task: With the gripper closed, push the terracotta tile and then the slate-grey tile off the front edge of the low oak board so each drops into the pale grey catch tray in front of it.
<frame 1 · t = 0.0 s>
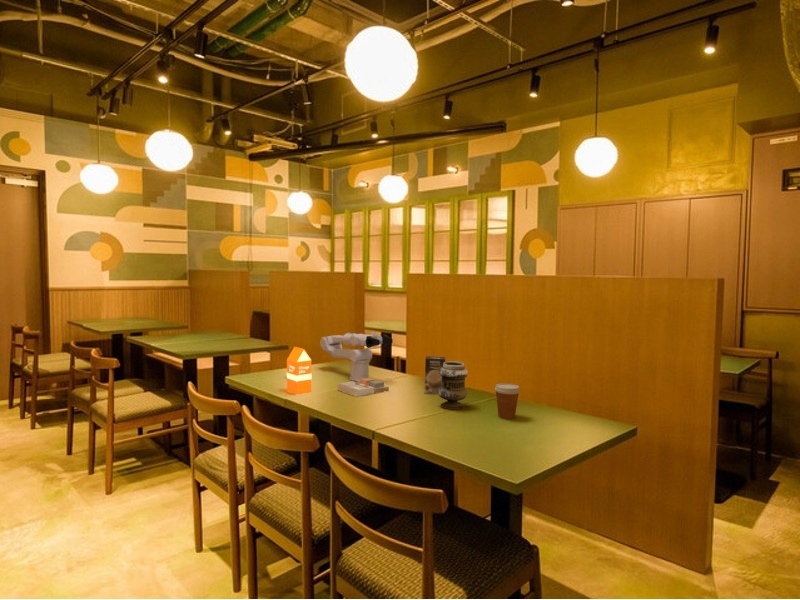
hand: (385, 341, 241), 22 cm above the table, tool horizontal, fingers open, 7 cm apart
tile terracotta: (367, 383, 241), point 2 cm above the table, touching board
catch tray: (355, 392, 233), on the table
board: (371, 389, 239), on the table
disposable coffee cup: (506, 417, 198), on the table
coffee box: (434, 392, 234), on the table
orange juice: (299, 392, 232), on the table
apothecary jar: (452, 406, 212), on the table
tile slate: (376, 386, 236), point 2 cm above the table, touching board
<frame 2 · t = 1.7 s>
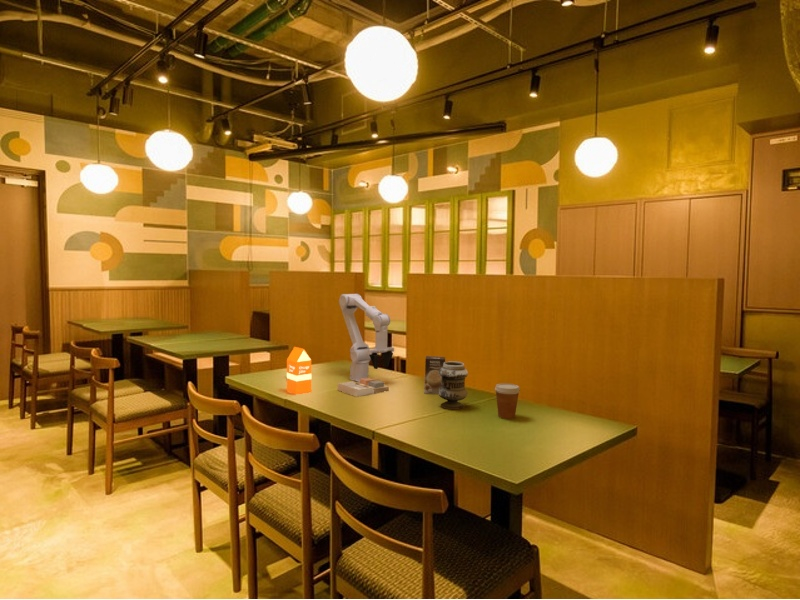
hand: (381, 367, 246), 8 cm above the table, tool pointing down, fingers open, 6 cm apart
nothing on the table moved.
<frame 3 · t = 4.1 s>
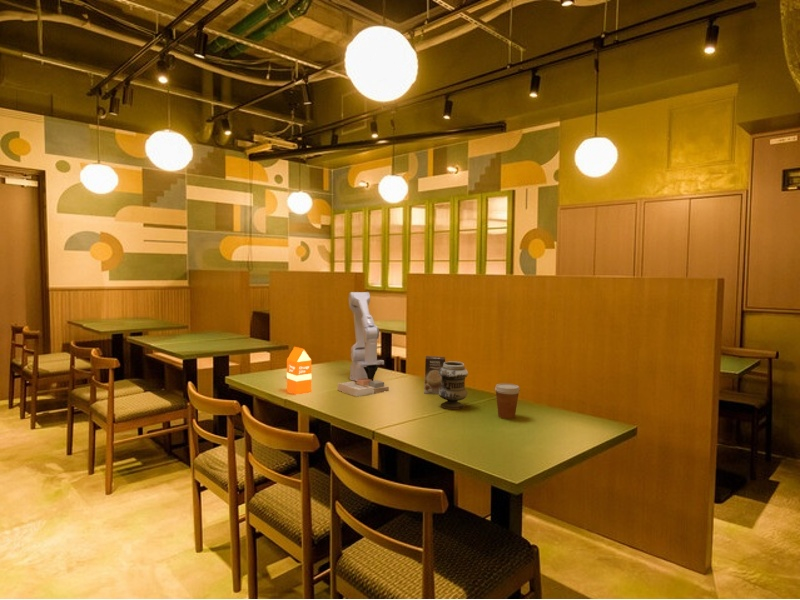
hand: (370, 381, 242), 3 cm above the table, tool pointing down, fingers closed
tile terracotta: (364, 383, 240), point 2 cm above the table
everything else where it was.
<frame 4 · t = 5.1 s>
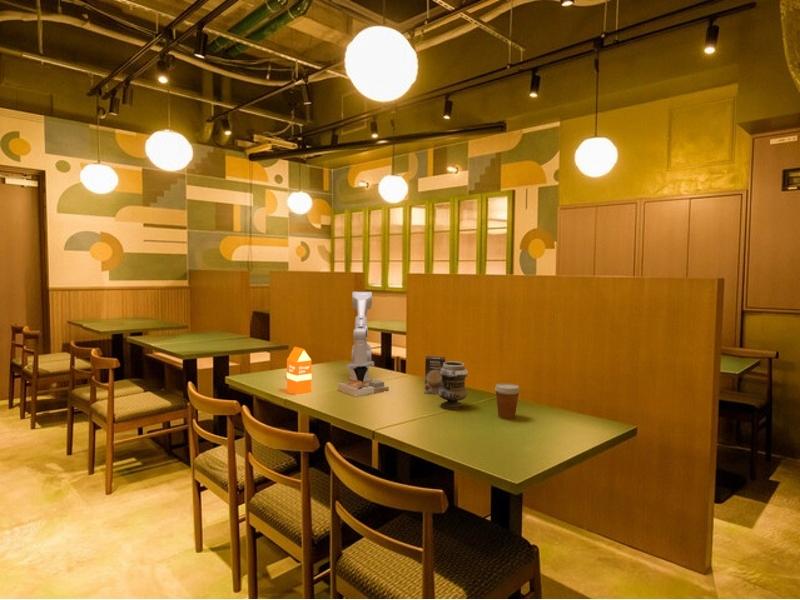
hand: (360, 382, 238), 3 cm above the table, tool pointing down, fingers closed
tile terracotta: (355, 386, 236), point 1 cm above the table, tilted 19°, touching gripper
everything else where it was.
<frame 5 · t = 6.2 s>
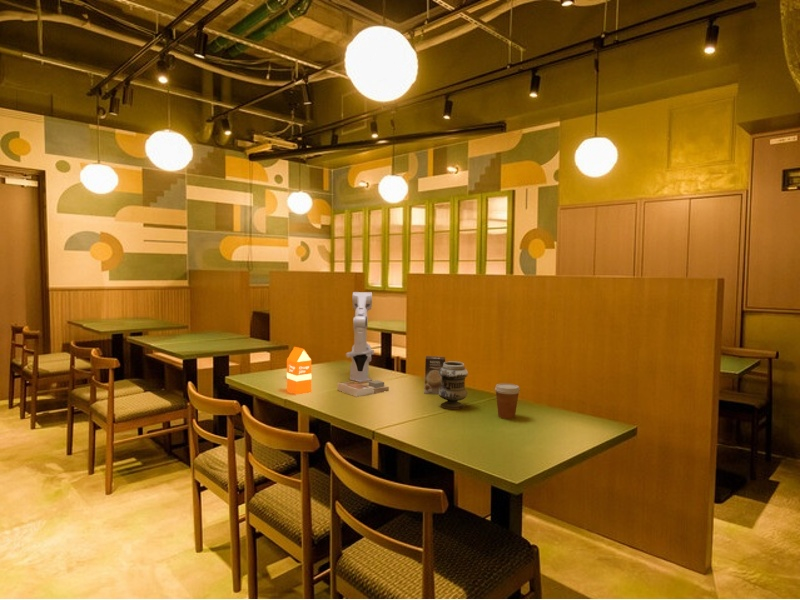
hand: (360, 371, 238), 8 cm above the table, tool pointing down, fingers closed
tile terracotta: (354, 388, 236), point 1 cm above the table, touching catch tray
everything else where it was.
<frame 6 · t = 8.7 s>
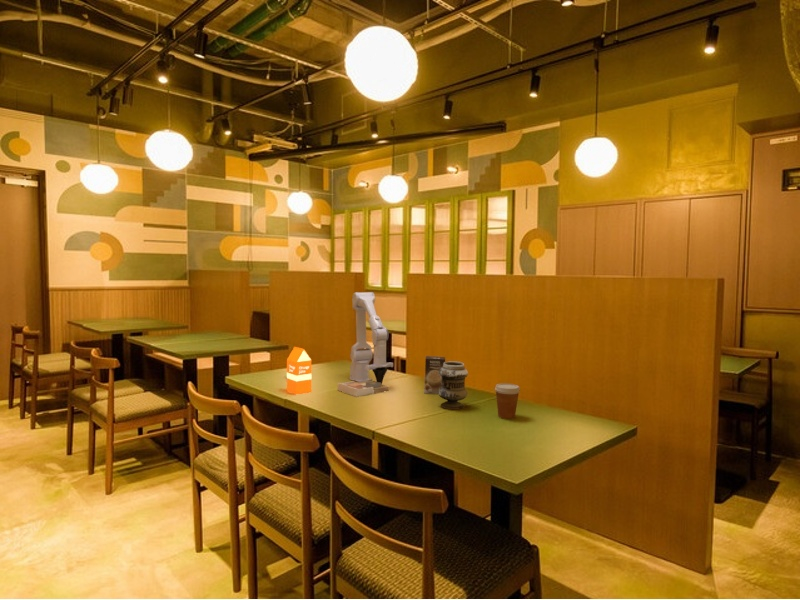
hand: (379, 383, 237), 3 cm above the table, tool pointing down, fingers closed
tile slate: (373, 386, 235), point 2 cm above the table, touching gripper
everything else where it was.
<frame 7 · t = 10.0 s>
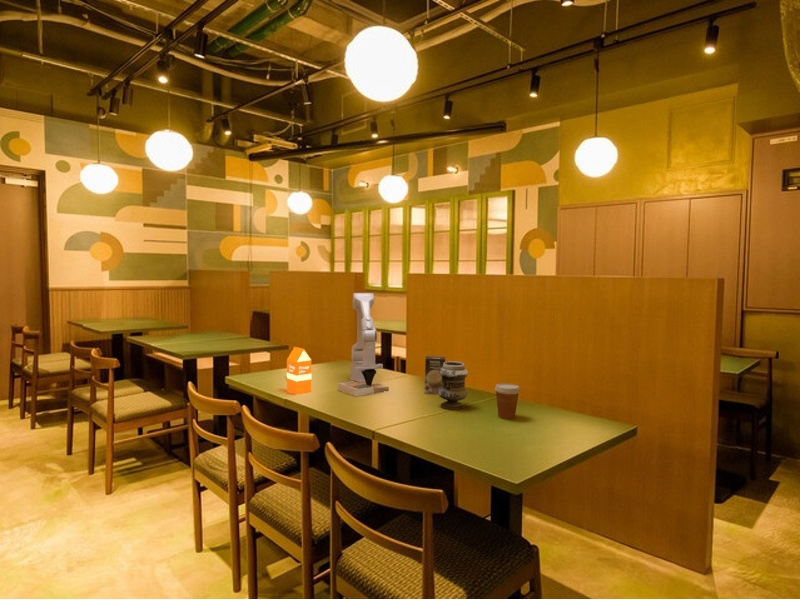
hand: (368, 385, 233), 3 cm above the table, tool pointing down, fingers closed
tile slate: (363, 390, 231), point 1 cm above the table, tilted 10°, touching catch tray, gripper
everything else where it was.
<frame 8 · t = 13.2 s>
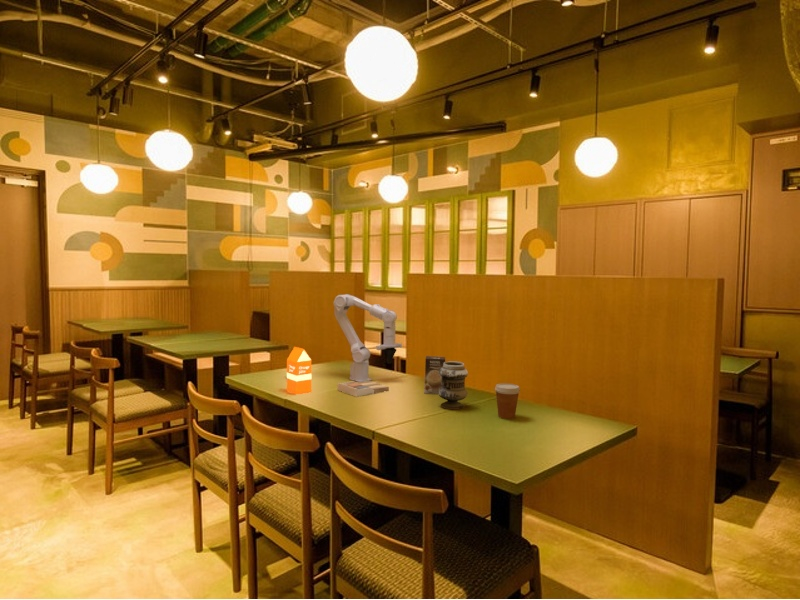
hand: (389, 363, 252), 9 cm above the table, tool pointing down, fingers closed
tile slate: (363, 391, 231), point 1 cm above the table, touching catch tray
everything else where it was.
at the end: tile terracotta inside the target area (3.7 cm from its centre), point 0.6 cm above the table; tile slate inside the target area (3.8 cm from its centre), point 0.6 cm above the table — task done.
